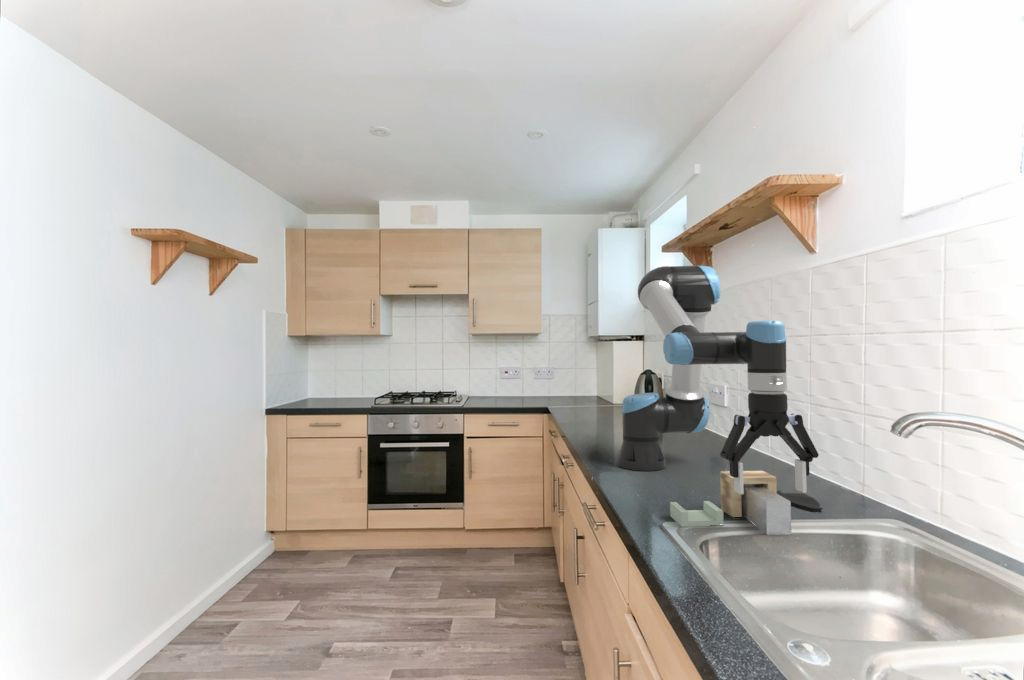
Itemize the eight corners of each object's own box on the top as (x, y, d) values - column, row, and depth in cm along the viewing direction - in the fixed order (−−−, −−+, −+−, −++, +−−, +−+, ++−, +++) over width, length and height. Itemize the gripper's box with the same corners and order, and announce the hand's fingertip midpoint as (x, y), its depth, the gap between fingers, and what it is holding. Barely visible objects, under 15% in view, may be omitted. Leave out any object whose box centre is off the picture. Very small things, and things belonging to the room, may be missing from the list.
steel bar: (731, 508, 120) (730, 479, 120) (752, 508, 119) (751, 479, 120) (766, 535, 103) (766, 501, 103) (791, 535, 102) (790, 501, 103)
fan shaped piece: (793, 514, 116) (793, 507, 116) (771, 496, 130) (771, 490, 130) (832, 515, 115) (831, 508, 115) (806, 497, 128) (805, 491, 128)
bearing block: (720, 509, 118) (720, 471, 119) (762, 508, 119) (762, 470, 119) (733, 518, 112) (732, 478, 113) (777, 516, 113) (776, 477, 113)
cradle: (670, 515, 114) (670, 502, 114) (709, 514, 115) (709, 500, 115) (681, 527, 107) (681, 512, 107) (723, 525, 108) (723, 511, 108)
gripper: (718, 394, 103) (720, 498, 102) (835, 392, 104) (838, 495, 103) (702, 392, 110) (705, 488, 110) (812, 390, 111) (815, 485, 111)
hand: (770, 491), depth 106 cm, fingers open, 13 cm apart
